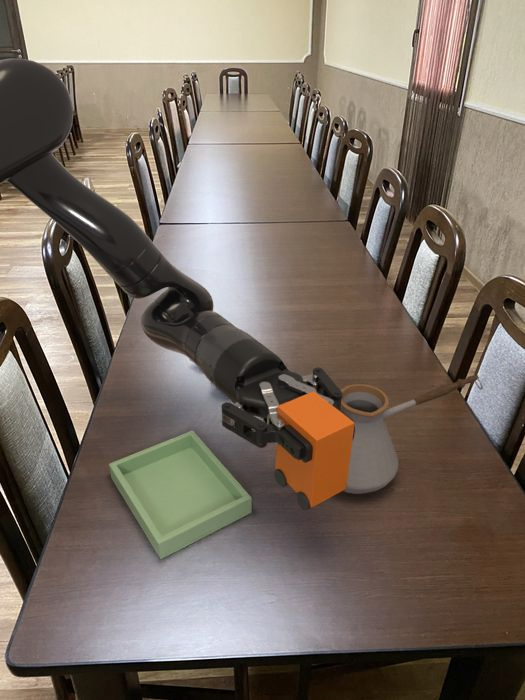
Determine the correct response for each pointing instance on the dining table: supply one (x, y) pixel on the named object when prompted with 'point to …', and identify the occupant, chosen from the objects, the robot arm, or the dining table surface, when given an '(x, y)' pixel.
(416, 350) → the dining table surface
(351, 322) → the dining table surface
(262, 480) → the dining table surface
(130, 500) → the green square tray
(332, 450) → the toy van
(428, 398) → the coffee pot
